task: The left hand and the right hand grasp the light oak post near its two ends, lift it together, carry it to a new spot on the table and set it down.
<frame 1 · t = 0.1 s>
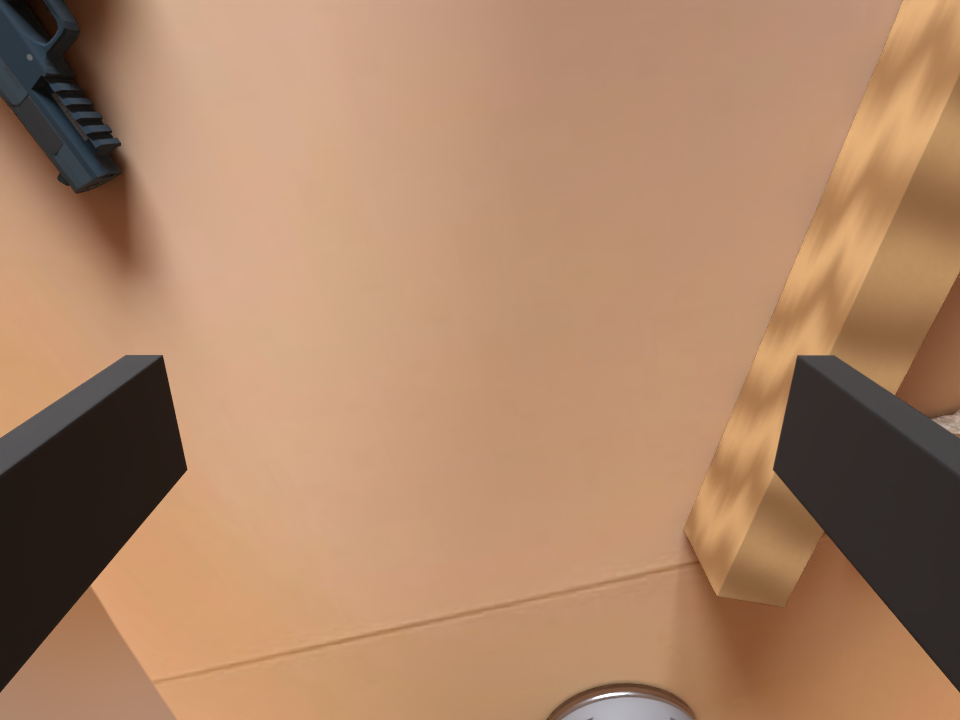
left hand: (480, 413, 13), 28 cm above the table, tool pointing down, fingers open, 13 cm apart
stone: (934, 481, 46), on the table
post: (862, 193, 38), on the table
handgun: (66, 6, 34), on the table
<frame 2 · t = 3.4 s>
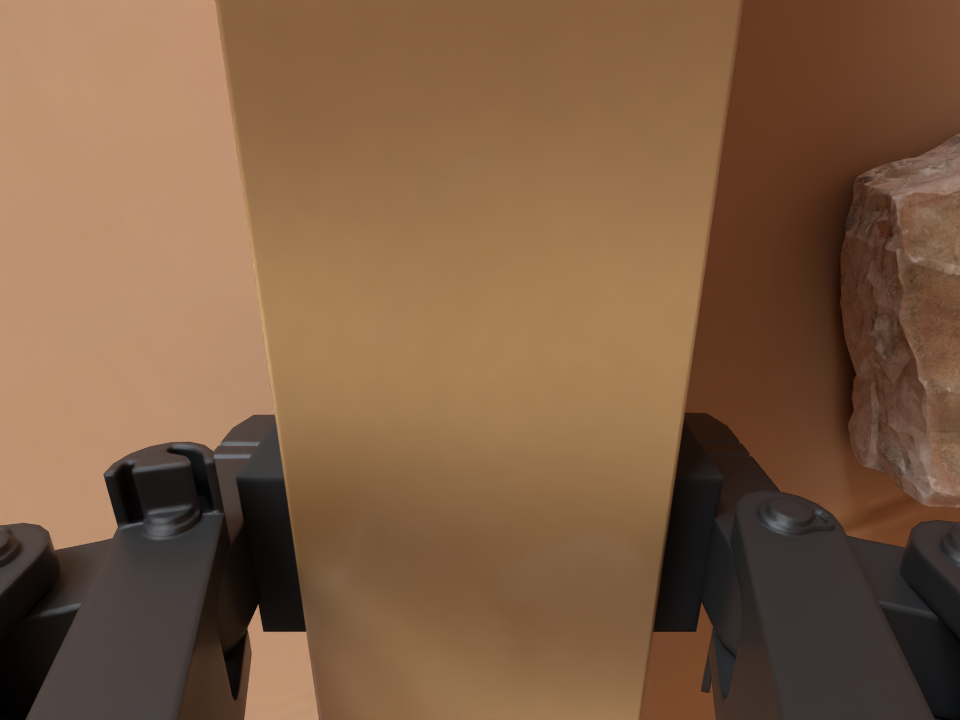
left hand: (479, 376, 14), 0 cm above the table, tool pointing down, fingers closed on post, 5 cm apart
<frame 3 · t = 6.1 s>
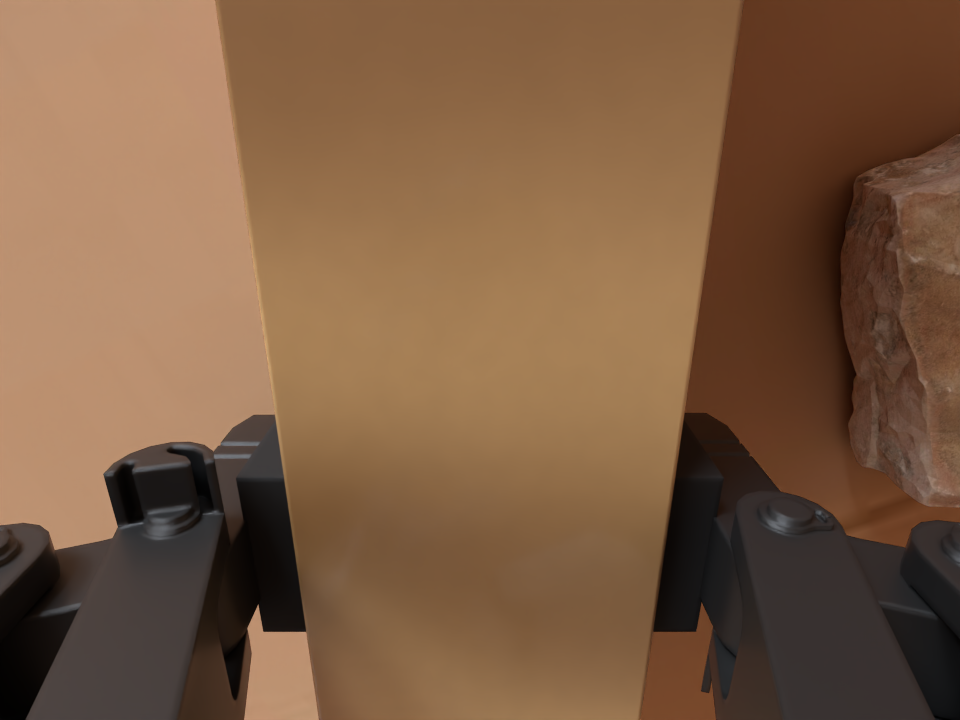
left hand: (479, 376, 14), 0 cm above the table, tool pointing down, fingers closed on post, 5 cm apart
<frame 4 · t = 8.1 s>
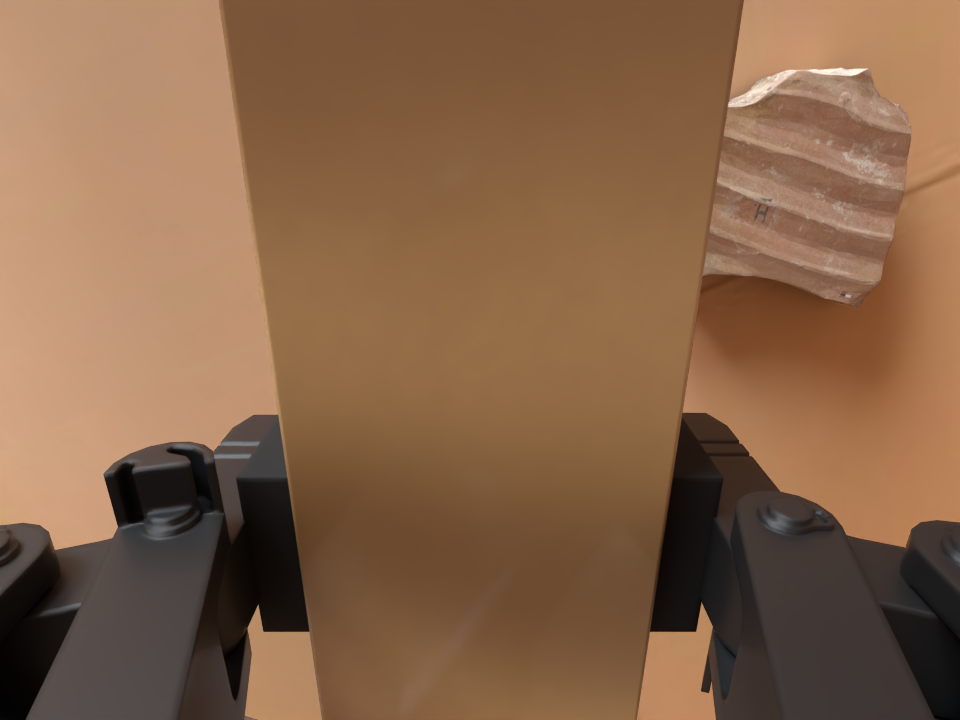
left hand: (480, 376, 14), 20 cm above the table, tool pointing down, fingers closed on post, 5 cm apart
stone: (762, 209, 32), on the table
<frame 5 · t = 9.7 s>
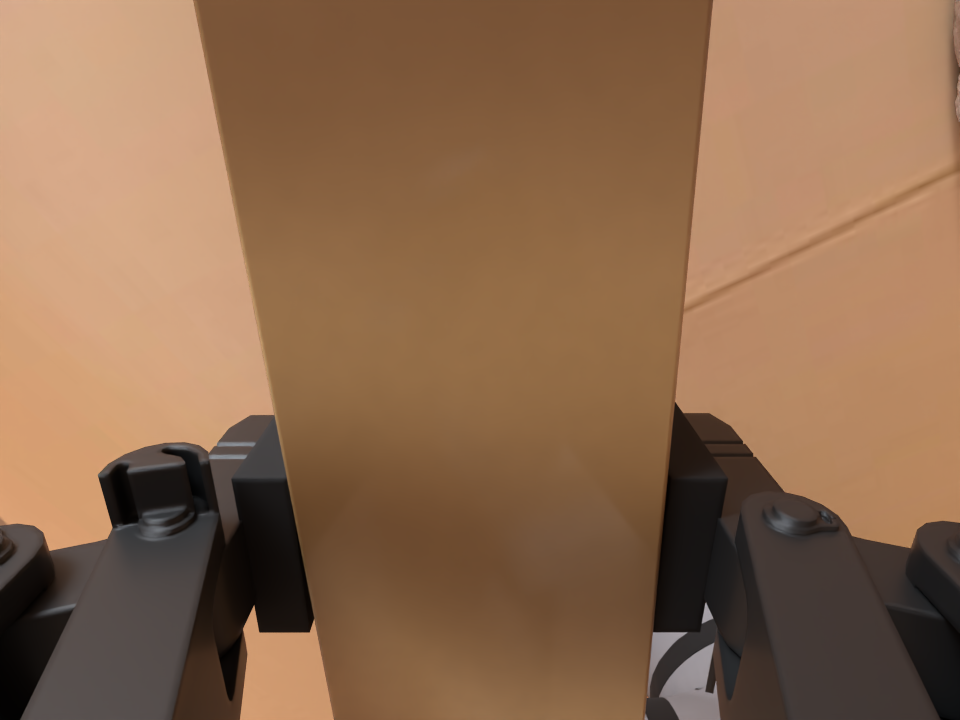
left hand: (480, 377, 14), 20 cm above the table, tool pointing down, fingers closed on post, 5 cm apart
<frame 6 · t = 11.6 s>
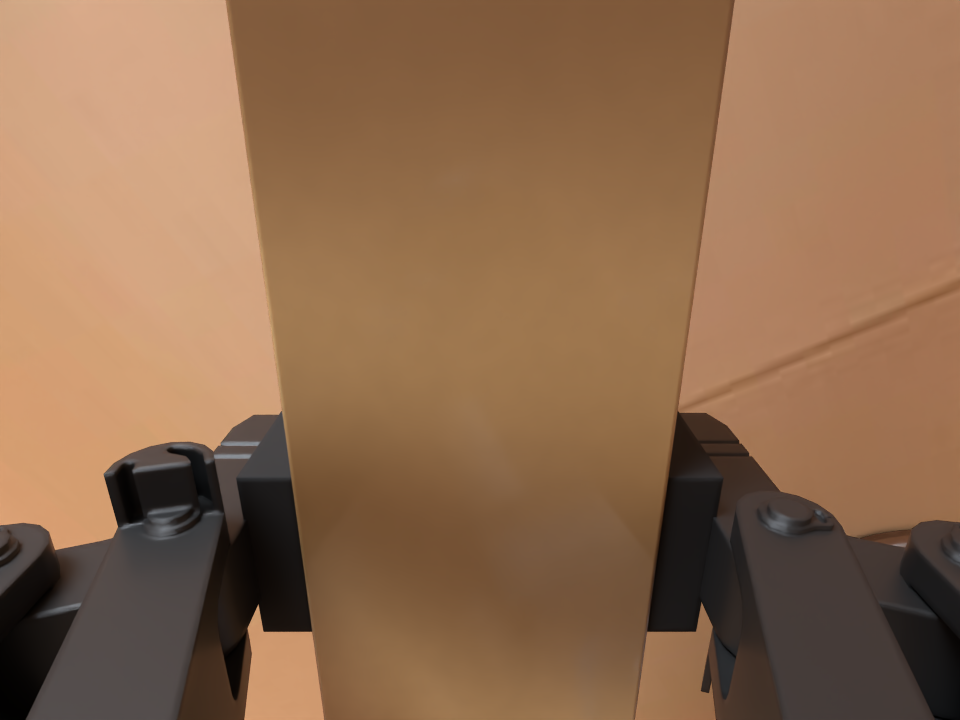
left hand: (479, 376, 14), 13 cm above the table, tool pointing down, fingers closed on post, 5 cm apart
when the left hand's fingers open (2 cm above the table, at t = 13.0 s): post drops 1 cm, on the table.
when the right hand's fingers open (4 cm above the table, at t = 13.2 s): post stays where it is, on the table.
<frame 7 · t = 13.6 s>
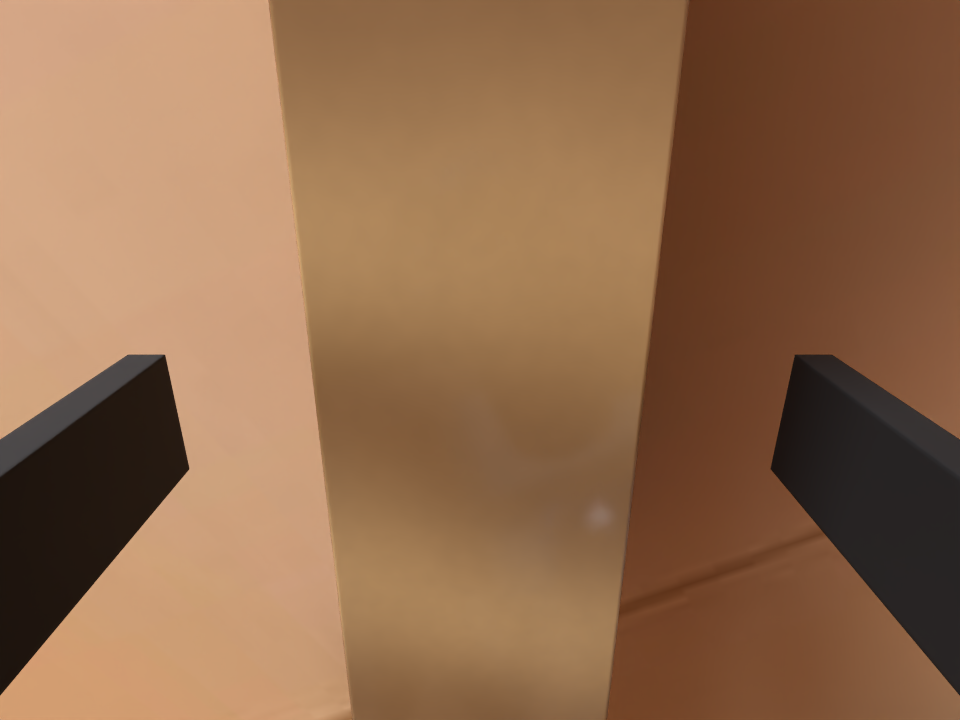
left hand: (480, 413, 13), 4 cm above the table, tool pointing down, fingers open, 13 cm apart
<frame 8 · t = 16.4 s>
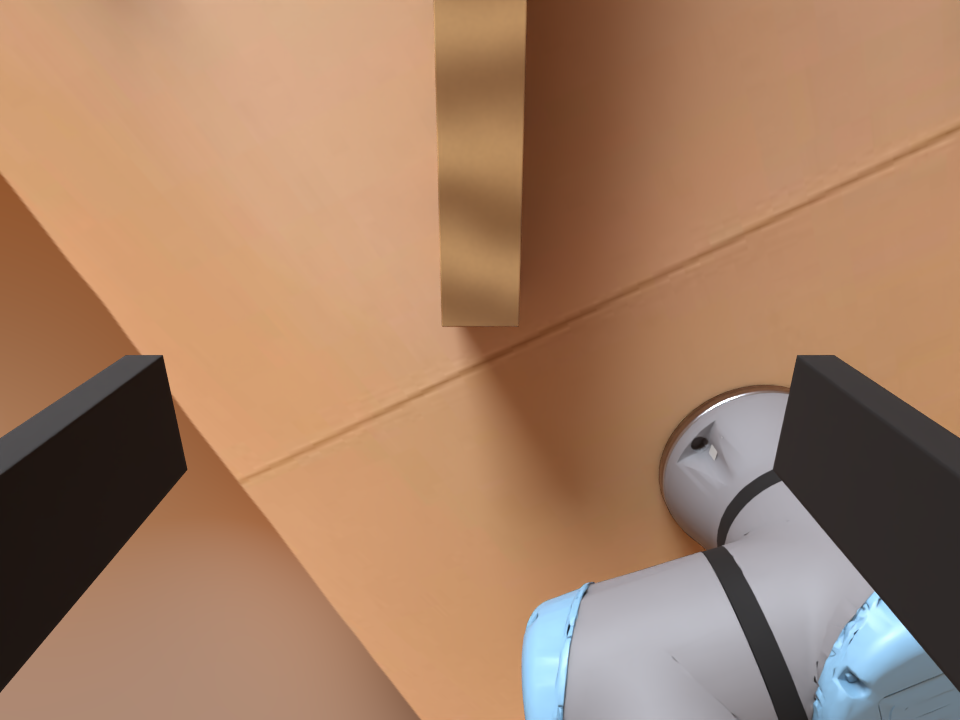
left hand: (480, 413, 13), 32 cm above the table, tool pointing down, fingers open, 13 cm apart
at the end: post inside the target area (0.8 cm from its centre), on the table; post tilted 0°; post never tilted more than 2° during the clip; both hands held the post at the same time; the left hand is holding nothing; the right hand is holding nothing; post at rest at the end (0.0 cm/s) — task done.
